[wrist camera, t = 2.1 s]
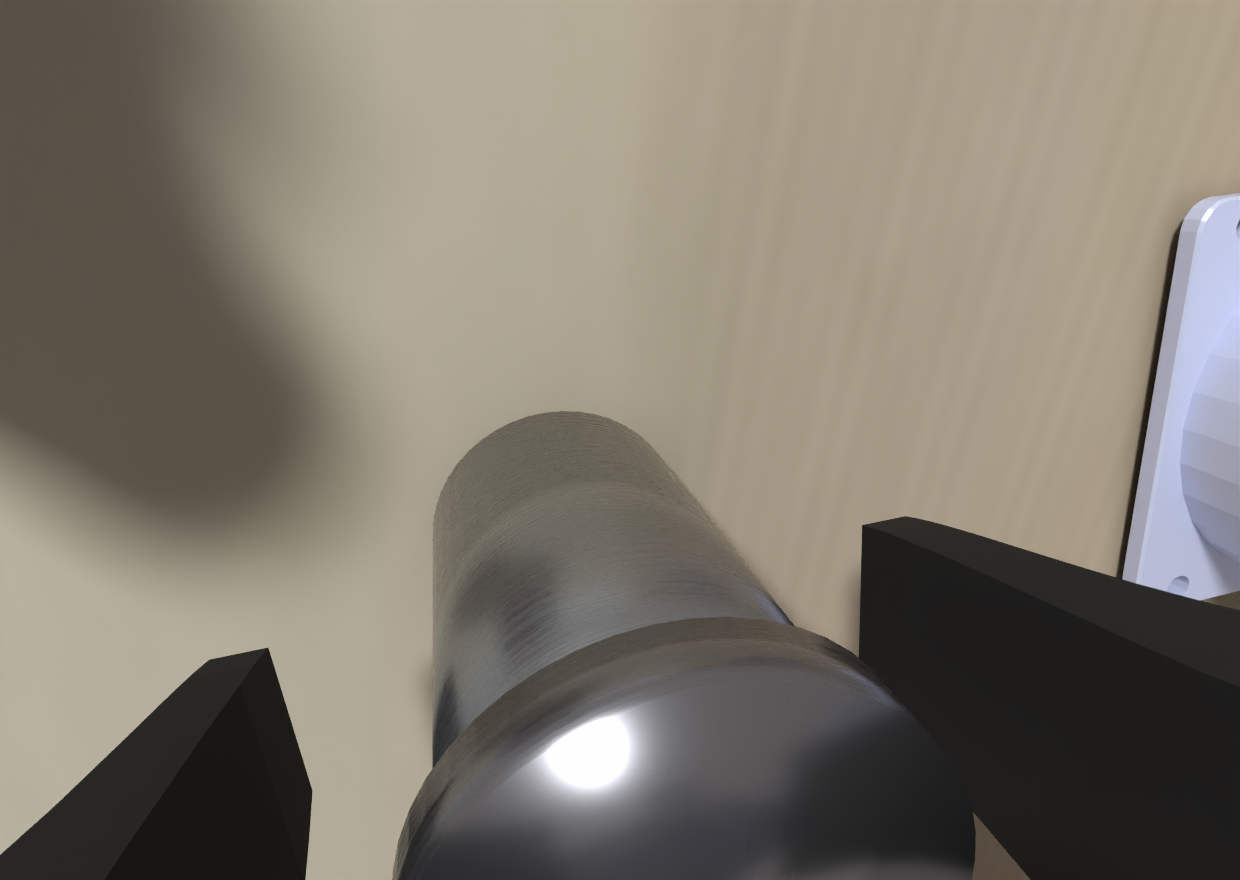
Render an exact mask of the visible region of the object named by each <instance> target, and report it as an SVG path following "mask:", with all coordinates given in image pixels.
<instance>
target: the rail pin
mask: <svg viewBox="0 0 1240 880" xmlns="http://www.w3.org/2000/svg"><path fill="white" fill-rule="evenodd" d="M975 833H976V832H975V825H974V818H973V811H972V805H971V802H970V799H969V796H968V794H967V791H966V788H965V785H964V782H963V780H962V778H961V776H960V774H959V773H958V771H957V769H956V767H955V765H954V764H953V762H952V760H951V758H950V757H949V756H948V755H947V753H946V752H945V751H944V750H943V749H942V748H941V746H940V745H939V744H938V743H937V742H936V741H935V739H934V738H933V737H932V736H931V735H930V734H929V733H928V731H927V730H926V729H925V728H924V727H923V726H922V725H921V723H920V722H919V721H918V720H917V719H916V718H915V717H914V715H913V714H912V713H911V712H910V711H909V710H908V709H907V708H906V706H905V705H904V704H903V703H902V702H901V701H900V700H899V698H898V697H897V696H896V695H895V694H894V693H893V692H892V691H891V689H890V688H889V687H888V686H887V685H886V684H885V683H884V681H883V680H882V679H881V678H880V677H879V676H878V675H877V674H876V672H875V671H874V670H873V669H872V668H870V667H869V666H868V665H867V664H865V663H864V662H863V661H862V660H861V659H859V658H858V657H857V656H856V655H854V654H853V653H852V652H850V651H849V650H847V649H845V648H843V647H842V646H840V645H838V644H836V643H835V642H833V641H831V640H829V639H828V638H825V637H823V636H820V635H817V634H815V633H812V632H810V631H807V630H804V629H802V628H799V627H796V626H794V625H793V623H792V622H791V621H790V620H789V618H788V617H787V616H786V615H785V613H784V612H783V611H782V610H781V608H780V607H779V606H778V605H777V603H776V602H775V601H774V600H773V598H772V597H771V596H770V594H769V593H768V592H767V591H766V589H765V588H764V587H763V586H762V584H761V583H760V582H759V581H758V579H757V578H756V577H755V576H754V574H753V573H752V572H751V571H750V569H749V568H748V567H747V565H746V564H745V563H744V562H743V560H742V559H741V558H740V557H739V555H738V554H737V553H736V552H735V550H734V549H733V548H732V547H731V545H730V544H729V543H728V542H727V540H726V539H725V538H724V536H723V535H722V534H721V533H720V531H719V530H718V529H717V528H716V526H715V525H714V524H713V523H712V521H711V520H710V519H709V518H708V516H707V515H706V514H705V513H704V511H703V510H702V509H701V507H700V506H699V505H698V504H697V502H696V501H695V500H694V499H693V497H692V496H691V495H690V494H689V492H688V491H687V490H686V489H685V487H684V486H683V485H682V484H681V482H680V481H679V480H678V478H677V477H676V476H675V475H674V473H673V472H672V471H671V470H670V468H669V467H668V466H667V465H666V463H665V462H664V461H663V460H662V458H661V457H660V456H659V455H658V453H657V452H656V451H655V450H654V449H653V448H652V447H651V445H650V444H649V443H648V442H646V441H645V440H644V439H643V438H642V437H641V436H639V435H638V434H637V433H635V432H634V431H632V430H631V429H629V428H627V427H626V426H624V425H622V424H620V423H618V422H615V421H613V420H611V419H608V418H605V417H601V416H598V415H595V414H588V413H582V412H565V411H560V412H550V413H542V414H538V415H534V416H529V417H526V418H523V419H520V420H517V421H515V422H512V423H510V424H508V425H506V426H504V427H502V428H500V429H498V430H496V431H494V432H493V433H491V434H490V435H488V436H487V437H485V438H484V439H483V440H481V441H480V442H479V443H478V444H477V445H475V446H474V447H473V448H472V449H471V450H470V451H469V452H468V453H467V454H466V455H465V456H464V457H463V458H462V460H461V461H460V462H459V463H458V464H457V466H456V467H455V469H454V470H453V472H452V473H451V475H450V476H449V477H448V479H447V481H446V483H445V486H444V488H443V490H442V492H441V494H440V497H439V500H438V503H437V507H436V511H435V517H434V523H433V769H432V771H431V772H430V773H429V775H428V776H427V778H426V779H425V781H424V783H423V785H422V787H421V789H420V791H419V793H418V795H417V796H416V798H415V800H414V802H413V804H412V806H411V808H410V810H409V813H408V816H407V818H406V821H405V824H404V827H403V830H402V832H401V835H400V838H399V841H398V847H397V852H396V858H395V863H394V869H393V880H971V878H972V873H973V867H974V861H975Z"/></svg>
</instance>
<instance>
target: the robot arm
mask: <svg viewBox="0 0 1240 880" xmlns="http://www.w3.org/2000/svg"><path fill="white" fill-rule="evenodd" d="M1238 222H1239V225H1238ZM1237 225H1238V227H1237ZM1236 227H1237V230H1236ZM1237 591H1240V193H1236V194H1228V195H1221V196H1213V197H1209V198H1206V199H1203V200H1201V201H1199V202H1198V203H1197V204H1196V205H1195V206H1193V207H1192V208H1191V209H1190V211H1189V212H1188V214H1187V215H1186V217H1185V218H1184V220H1183V224H1182V227H1181V230H1180V235H1179V241H1178V247H1177V253H1176V259H1175V265H1174V271H1173V277H1172V283H1171V289H1170V295H1169V301H1168V307H1167V313H1166V319H1165V325H1164V331H1163V337H1162V343H1161V349H1160V355H1159V361H1158V367H1157V373H1156V379H1155V385H1154V391H1153V397H1152V403H1151V409H1150V415H1149V421H1148V427H1147V433H1146V439H1145V445H1144V451H1143V457H1142V463H1141V469H1140V475H1139V481H1138V487H1137V493H1136V499H1135V505H1134V511H1133V517H1132V522H1131V528H1130V534H1129V540H1128V546H1127V552H1126V558H1125V564H1124V570H1123V576H1122V579H1119V578H1116V577H1112V576H1109V575H1106V574H1102V573H1099V572H1095V571H1092V570H1089V569H1085V568H1082V567H1079V566H1075V565H1072V564H1069V563H1066V562H1063V561H1059V560H1056V559H1053V558H1050V557H1046V556H1043V555H1040V554H1037V553H1034V552H1030V551H1027V550H1024V549H1021V548H1018V547H1014V546H1011V545H1008V544H1005V543H1002V542H998V541H995V540H992V539H989V538H986V537H982V536H979V535H976V534H973V533H969V532H966V531H962V530H959V529H956V528H952V527H949V526H945V525H941V524H938V523H934V522H930V521H926V520H921V519H916V518H911V517H906V516H905V517H900V518H895V519H890V520H885V521H881V522H876V523H871V524H866V525H862V558H861V598H860V638H859V659H861V660H862V661H863V662H864V663H865V664H867V665H868V666H869V667H870V668H872V669H873V670H874V671H875V672H876V674H877V675H878V676H879V677H880V678H881V679H882V680H883V681H884V683H885V684H886V685H887V686H888V687H889V688H890V689H891V691H892V692H893V693H894V694H895V695H896V696H897V697H898V698H899V700H900V701H901V702H902V703H903V704H904V705H905V706H906V708H907V709H908V710H909V711H910V712H911V713H912V714H913V715H914V717H915V718H916V719H917V720H918V721H919V722H920V723H921V725H922V726H923V727H924V728H925V729H926V730H927V731H928V733H929V734H930V735H931V736H932V737H933V738H934V739H935V741H936V742H937V743H938V744H939V745H940V746H941V748H942V749H943V750H944V751H945V752H946V753H947V755H948V756H949V757H950V758H951V760H952V762H953V764H954V765H955V767H956V769H957V771H958V773H959V774H960V776H961V778H962V780H963V782H964V785H965V788H966V791H967V794H968V796H969V799H970V802H971V805H972V811H973V812H974V813H975V814H976V815H977V817H978V818H979V819H980V820H981V821H982V823H983V824H984V825H985V826H986V827H987V828H988V830H989V831H990V832H991V833H992V834H993V836H994V837H995V838H996V839H997V840H998V841H999V843H1000V844H1001V845H1002V846H1003V847H1004V849H1005V850H1006V851H1007V852H1008V853H1009V855H1010V856H1011V857H1012V858H1013V859H1014V860H1015V862H1016V863H1017V864H1018V865H1019V866H1020V868H1021V869H1022V870H1023V871H1024V872H1025V873H1026V875H1027V876H1028V877H1029V878H1030V879H1031V880H1240V610H1236V609H1232V608H1228V607H1223V606H1219V605H1215V604H1211V603H1207V602H1203V601H1200V600H1204V599H1208V598H1213V597H1217V596H1221V595H1225V594H1229V593H1233V592H1237ZM311 802H312V788H311V785H310V782H309V778H308V775H307V772H306V769H305V766H304V762H303V759H302V756H301V753H300V749H299V746H298V743H297V740H296V736H295V733H294V730H293V727H292V723H291V720H290V717H289V714H288V710H287V707H286V704H285V701H284V697H283V694H282V691H281V688H280V684H279V681H278V678H277V675H276V671H275V668H274V665H273V662H272V658H271V655H270V652H269V649H268V648H264V649H260V650H255V651H250V652H245V653H240V654H235V655H230V656H226V657H221V658H216V659H211V660H209V661H207V662H206V663H205V664H204V665H203V666H201V667H200V668H199V669H198V670H197V671H195V672H194V673H193V674H192V675H191V676H190V677H189V678H188V679H187V680H186V681H185V682H183V683H182V684H181V685H180V686H179V687H178V688H177V689H176V690H175V691H174V692H173V693H172V694H171V695H170V696H169V697H168V698H167V699H166V700H165V701H163V702H162V703H161V704H160V705H159V706H158V707H157V708H156V709H155V710H154V711H153V712H152V713H151V714H150V715H149V716H148V717H147V718H146V719H145V720H144V721H143V722H142V723H141V724H140V725H139V726H138V727H137V728H136V729H135V730H134V731H133V732H132V733H131V734H130V735H129V736H128V737H126V738H125V739H124V740H123V741H122V742H121V743H120V744H119V745H118V746H117V747H116V748H115V749H114V750H113V751H112V752H111V753H110V754H109V755H108V756H107V757H106V758H105V759H104V760H103V761H101V762H100V763H99V764H98V765H97V766H96V767H95V768H94V769H93V770H92V771H91V772H90V773H89V774H88V775H87V776H86V777H85V778H84V779H83V780H82V781H81V782H80V783H79V784H77V785H76V786H75V787H74V788H73V789H72V790H71V791H70V792H69V793H68V794H67V795H66V796H65V797H64V798H63V799H62V800H61V801H60V802H59V803H58V804H56V805H55V806H54V807H53V808H52V809H51V810H50V811H49V812H48V813H47V814H45V815H44V816H43V817H42V818H41V819H40V820H39V821H38V822H37V823H35V824H34V825H33V826H32V827H31V828H30V829H29V830H28V831H27V832H25V833H24V834H23V835H22V836H21V837H20V838H19V839H18V840H16V841H15V842H14V843H13V844H12V845H11V846H10V847H9V848H8V849H6V850H5V851H4V852H3V853H2V854H1V855H0V880H305V876H306V865H307V854H308V844H309V831H310V817H311Z"/></svg>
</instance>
